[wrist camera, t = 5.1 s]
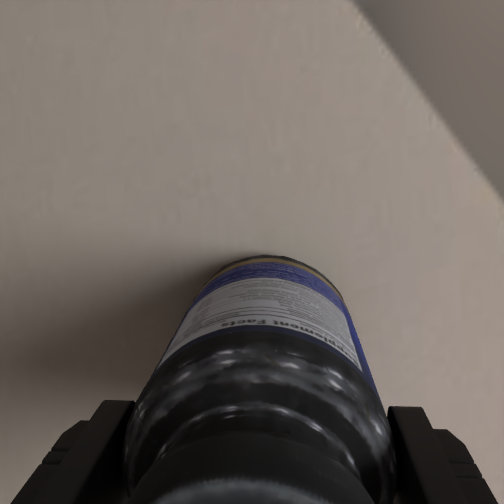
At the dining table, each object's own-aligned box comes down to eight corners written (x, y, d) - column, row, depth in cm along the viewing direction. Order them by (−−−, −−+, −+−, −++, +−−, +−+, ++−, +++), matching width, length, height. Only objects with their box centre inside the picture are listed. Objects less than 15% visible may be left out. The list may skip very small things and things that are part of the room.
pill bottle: (312, 422, 19) (345, 799, 8) (168, 367, 19) (13, 677, 8) (377, 286, 17) (525, 533, 7) (222, 224, 17) (116, 376, 6)
